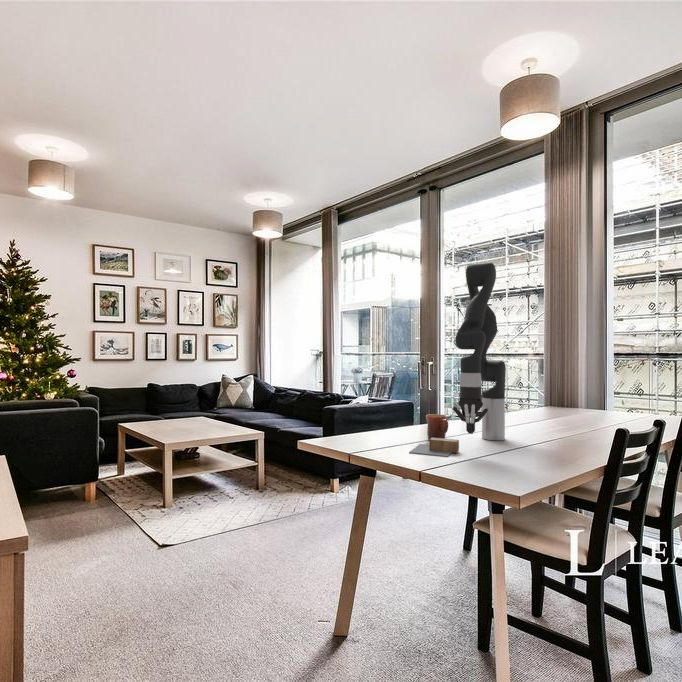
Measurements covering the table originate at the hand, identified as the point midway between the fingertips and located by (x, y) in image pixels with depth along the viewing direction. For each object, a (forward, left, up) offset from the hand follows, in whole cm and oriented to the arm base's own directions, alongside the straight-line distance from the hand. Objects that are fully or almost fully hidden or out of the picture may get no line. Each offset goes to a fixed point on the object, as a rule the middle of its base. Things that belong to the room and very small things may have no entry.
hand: (470, 433), depth 168 cm
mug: (-19, -16, -8) cm, 26 cm away
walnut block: (0, -5, -5) cm, 7 cm away
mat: (0, -14, -7) cm, 15 cm away
